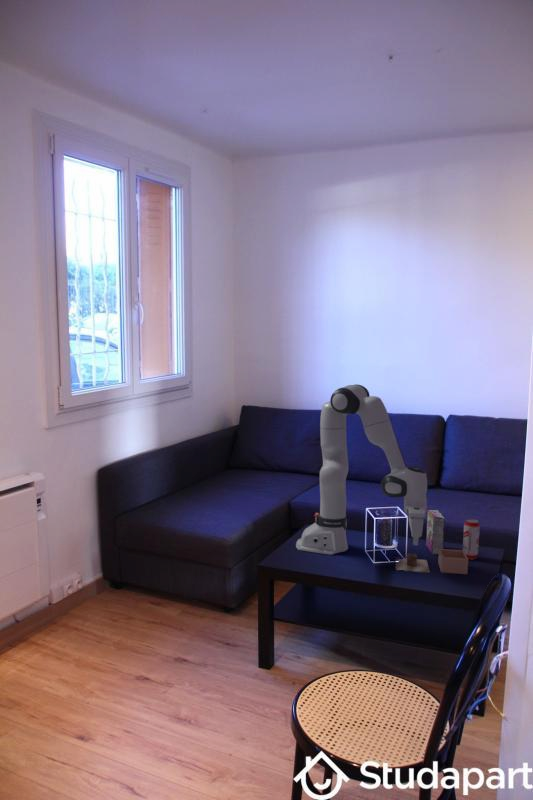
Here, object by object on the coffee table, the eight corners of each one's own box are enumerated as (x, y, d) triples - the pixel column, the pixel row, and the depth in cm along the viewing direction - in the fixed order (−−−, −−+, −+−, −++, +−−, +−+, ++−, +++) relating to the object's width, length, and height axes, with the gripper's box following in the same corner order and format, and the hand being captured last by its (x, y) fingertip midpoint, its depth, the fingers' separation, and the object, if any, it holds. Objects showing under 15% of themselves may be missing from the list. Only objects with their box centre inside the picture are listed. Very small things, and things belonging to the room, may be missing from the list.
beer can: (475, 555, 267) (478, 518, 265) (479, 560, 261) (481, 523, 259) (460, 554, 268) (462, 518, 266) (463, 559, 262) (466, 522, 260)
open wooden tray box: (441, 572, 248) (442, 557, 247) (438, 562, 258) (438, 548, 257) (467, 574, 246) (468, 559, 246) (463, 564, 256) (464, 550, 255)
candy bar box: (425, 545, 278) (427, 509, 276) (436, 545, 278) (438, 509, 276) (431, 554, 267) (433, 517, 265) (443, 555, 267) (445, 517, 265)
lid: (396, 571, 249) (396, 559, 248) (394, 559, 262) (395, 548, 261) (429, 574, 247) (430, 562, 246) (426, 562, 260) (427, 550, 259)
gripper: (405, 500, 262) (404, 532, 263) (409, 514, 242) (408, 549, 243) (421, 500, 261) (420, 532, 262) (425, 514, 241) (425, 549, 242)
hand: (414, 540), depth 253 cm, fingers open, 8 cm apart
